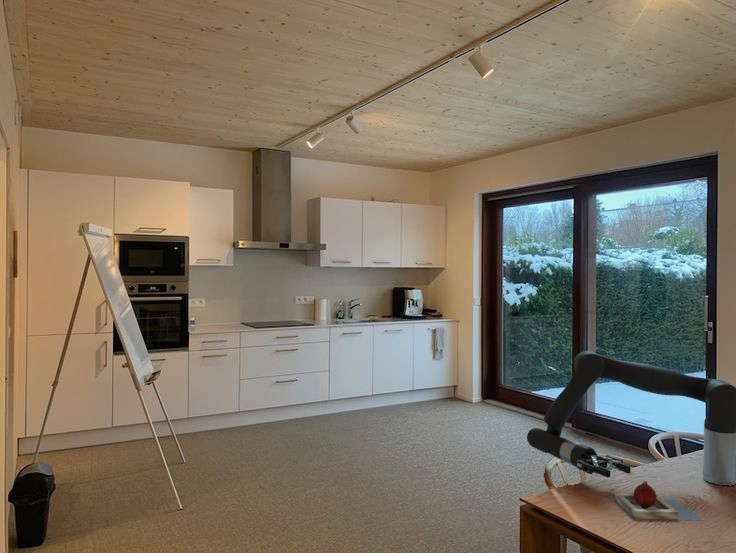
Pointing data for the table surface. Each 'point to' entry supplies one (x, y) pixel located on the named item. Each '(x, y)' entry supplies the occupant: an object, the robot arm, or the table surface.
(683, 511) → the build board
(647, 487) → the onion
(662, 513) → the square frame
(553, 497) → the table surface
